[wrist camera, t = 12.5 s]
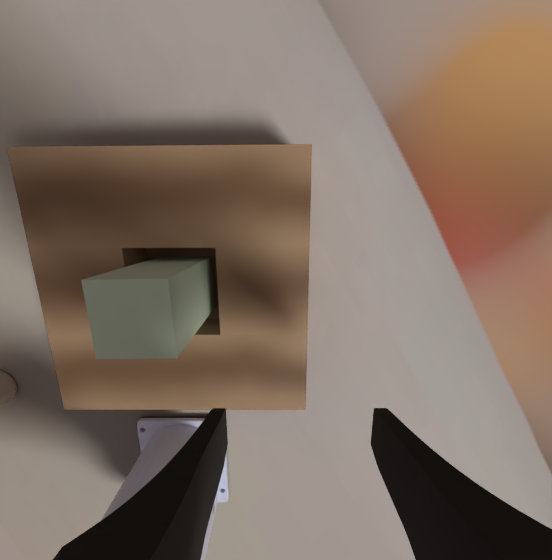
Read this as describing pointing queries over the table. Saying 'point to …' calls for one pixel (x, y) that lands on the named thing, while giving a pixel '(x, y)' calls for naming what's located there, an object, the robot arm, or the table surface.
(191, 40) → the table surface
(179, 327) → the peg
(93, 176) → the socket block
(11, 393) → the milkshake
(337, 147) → the table surface
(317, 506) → the table surface
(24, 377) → the table surface
